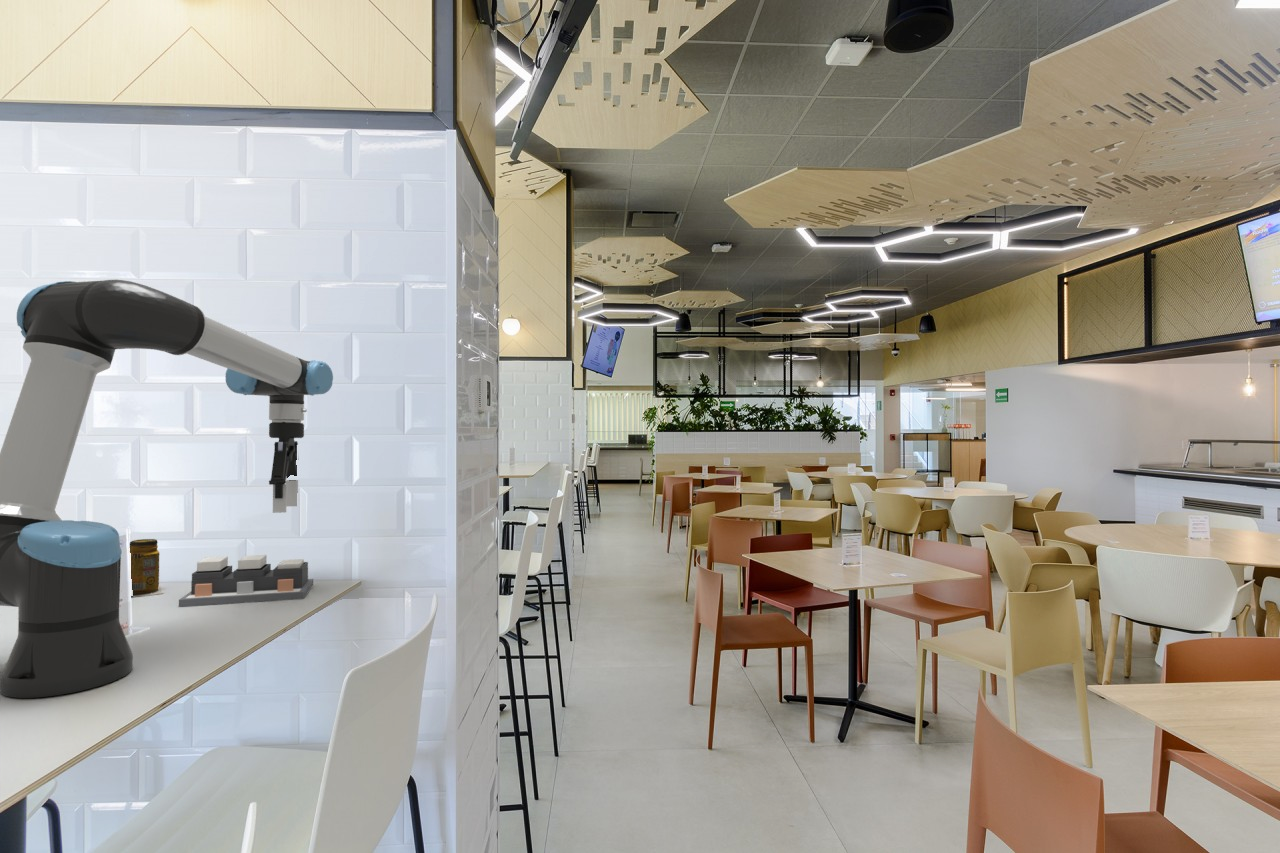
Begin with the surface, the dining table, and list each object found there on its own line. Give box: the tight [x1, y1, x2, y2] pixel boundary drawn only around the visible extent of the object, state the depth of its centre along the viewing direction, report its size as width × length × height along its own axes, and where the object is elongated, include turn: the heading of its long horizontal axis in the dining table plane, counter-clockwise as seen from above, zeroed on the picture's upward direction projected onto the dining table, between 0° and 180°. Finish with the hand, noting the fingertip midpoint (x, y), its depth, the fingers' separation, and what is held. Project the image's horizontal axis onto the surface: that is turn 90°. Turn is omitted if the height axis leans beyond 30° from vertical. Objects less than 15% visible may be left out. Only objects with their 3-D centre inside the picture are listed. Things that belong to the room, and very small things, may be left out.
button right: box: [277, 558, 305, 569], centre depth 157 cm, size 4×6×2 cm
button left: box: [196, 556, 229, 571], centre depth 152 cm, size 4×6×2 cm
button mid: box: [237, 554, 267, 569], centre depth 154 cm, size 4×6×2 cm
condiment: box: [129, 538, 164, 598], centre depth 155 cm, size 7×8×12 cm
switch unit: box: [178, 561, 314, 608], centre depth 153 cm, size 24×14×6 cm, turn 108°
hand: (285, 509), depth 163 cm, fingers open, 13 cm apart
